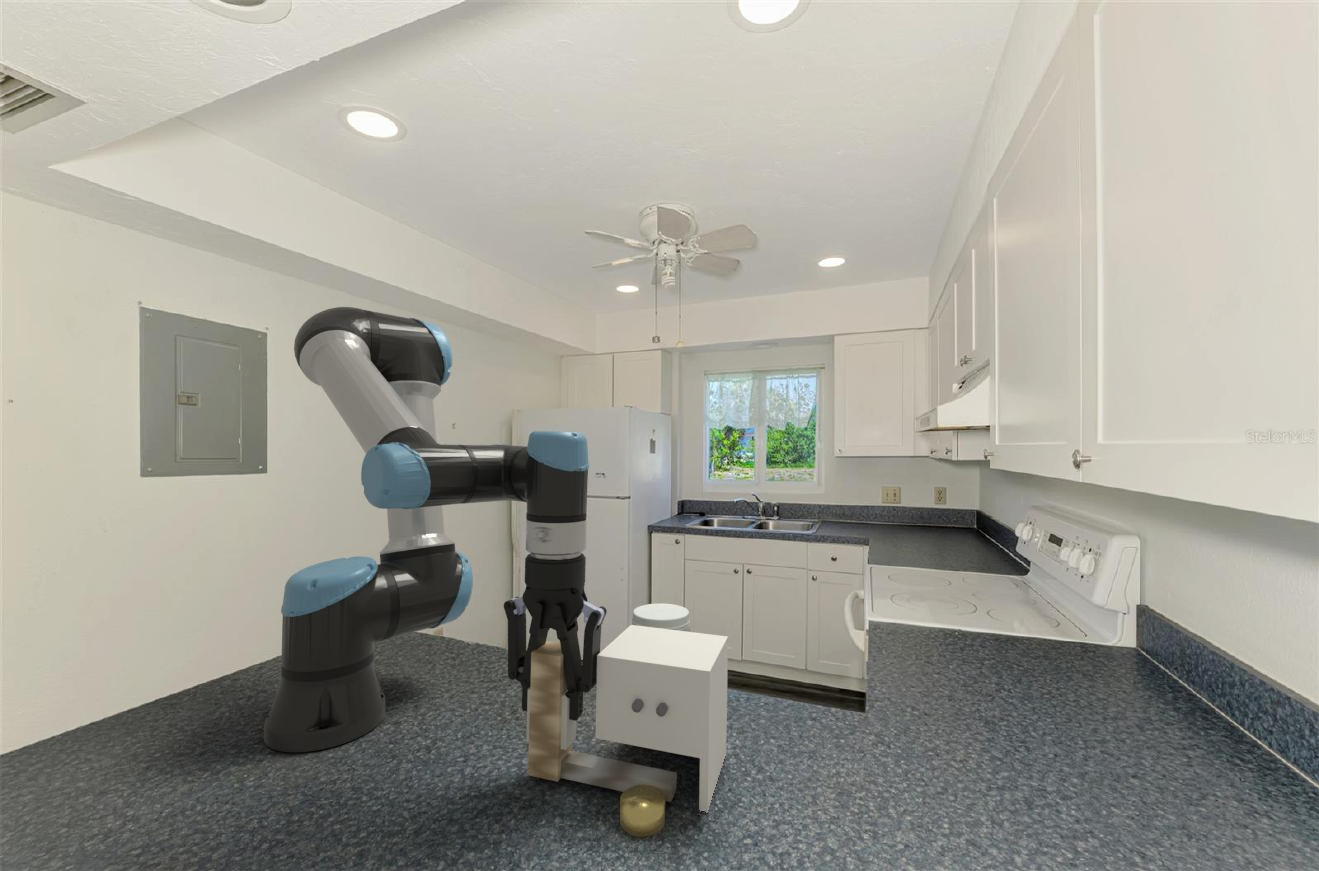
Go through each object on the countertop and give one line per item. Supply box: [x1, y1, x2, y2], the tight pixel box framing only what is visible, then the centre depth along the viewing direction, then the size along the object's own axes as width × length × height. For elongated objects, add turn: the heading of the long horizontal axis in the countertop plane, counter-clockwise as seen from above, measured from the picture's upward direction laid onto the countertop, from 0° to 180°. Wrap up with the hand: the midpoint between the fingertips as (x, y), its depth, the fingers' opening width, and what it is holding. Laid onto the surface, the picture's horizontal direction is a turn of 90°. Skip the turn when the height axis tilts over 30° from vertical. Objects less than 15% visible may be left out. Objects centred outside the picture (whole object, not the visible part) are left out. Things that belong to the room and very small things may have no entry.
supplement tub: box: [631, 602, 691, 632], centre depth 88 cm, size 10×10×15 cm
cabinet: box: [595, 624, 729, 814], centre depth 69 cm, size 14×13×16 cm
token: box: [619, 785, 666, 838], centre depth 60 cm, size 5×5×2 cm
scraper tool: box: [527, 640, 678, 803], centre depth 66 cm, size 18×4×15 cm, turn 73°
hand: (551, 739), depth 68 cm, fingers closed on scraper tool, 4 cm apart
